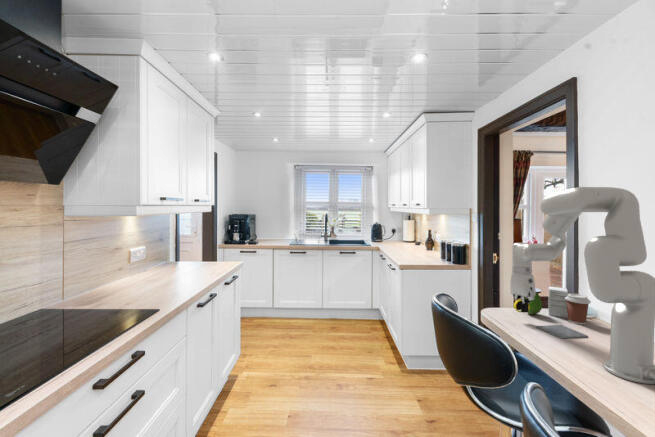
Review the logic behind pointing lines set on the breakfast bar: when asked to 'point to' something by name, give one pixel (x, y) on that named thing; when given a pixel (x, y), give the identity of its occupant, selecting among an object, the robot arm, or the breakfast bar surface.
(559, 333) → the slate coaster
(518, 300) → the watch
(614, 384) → the breakfast bar surface
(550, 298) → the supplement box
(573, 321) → the coffee cup
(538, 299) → the avocado
